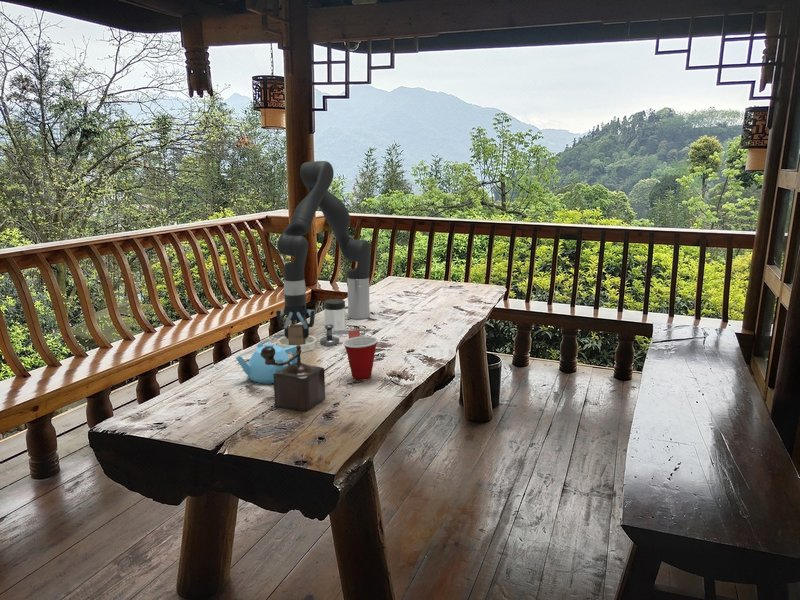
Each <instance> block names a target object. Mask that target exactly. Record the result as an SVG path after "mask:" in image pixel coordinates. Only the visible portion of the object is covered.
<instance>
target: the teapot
mask: <svg viewBox="0 0 800 600" xmlns="http://www.w3.org/2000/svg"><path fill="white" fill-rule="evenodd" d="M267 346H270V347H273V348H274V349H275V355H274V359H275V360H276V361H275V363H282V362H285V361H287V360H289V359H290V358H291V357H290V356H289V355H288V354H289V353H288V352H291V351H292V353H291V354H292V357H293V356H294V355H295V354H296V350H297V349H296V346H295V345H293V346H290V347H287V348H284V349H283V348H282V347H279V346H277V345H274V343H273V342H268V343H265V344H263V343H262V342H260V343H259V342H258V343H257V348H255V351H254V352H253V353H252V355H251V357H250V359H249V360H248V363H247V362H246V360H245V359H244V358H243V356H242V355H239V356H236V357H235V359H236V361H237V362H238V364H239V365H240V367H241V369H242V370H243V372H244V373H245V375H247V377H248V378H249V379H250V380H252V382H253V383H256V382H258V383H257V384H261V383H263V385H268V384H269V385H271V384H272V383H273V384H274V377H273V374H274V373H276V372H278V371H280V370H282V368H283V367H285V366H287V365H288V364H286V365H283V366H275V365H266V364H265V359H264V358H263V357H261V355H260V354H261V350H262V349H263V348H264V347H267ZM300 359H301V360H302V358H301V357H300ZM296 362H297V358H295V359H294V360H293V361H291V362H290V364H293V363H296ZM273 384H272V385H273Z"/></svg>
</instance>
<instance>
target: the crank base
mask: <svg viewBox="0 0 800 600" xmlns="http://www.w3.org/2000/svg"><path fill="white" fill-rule="evenodd" d="M325 328H326V329H327V333H326V337H321V338H320V339H319V344H321V346H322V345H324V346H323V347H334V346H333V345H335V346H338V345H339V344H340V338H339V337H336V336H333V333H332V328H334V325H331V324H328V325H325V324H324V329H325ZM337 344H338V345H337Z"/></svg>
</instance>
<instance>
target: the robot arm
mask: <svg viewBox="0 0 800 600" xmlns="http://www.w3.org/2000/svg"><path fill="white" fill-rule="evenodd" d="M334 173H335V172H334V167H333V166H332V164H331V163H330V162H329V161H327V160H317V161H315V160H314V161H307V162H304V163H302V164H301V166H300V169H299V175H300V178H301V181H302V182H303V183H302V184H303V185H304V186H305V188H306V189H307V191H308V192H309V193H308V194H307V195H306V196H305V197H304V198H303V199H302V200H301V201H300V202H299V203H298V205H296V207H295V209H294V212H293V215H292V217H291V220H290V222H289V224H288V225H287V226H286V228H285V229H284V231H283V232H282V233H281V235H280V236H279V238H278V241H277V244H276V245H277V251H278V253H279V254H280V255H281V256H285V257H287V256H289V257H291V256H292V257H294V259H293V261H290V262H287V263H285V264H284V265H283V278H284V279H283V280H284V282H283V293H284V294H283V296H284V297H283V299H284V309H280V308H278V309H277V310H276V311H275V314H276V318H277V324H278V327H279V328H283V329H284V337H286V338H287V339H289V338H288V328H289V326H290V325H291V324H290V323H291V322H292V321H297V322H298V321H299V322H300V323H301V324H303V326H304V339H307V337H308V336H310V328H313V327H314V325H315V318H316V309H308V307H307V292H306V291H307V290H306V282H305V281H306V280H305V264H306V260H307V255H308V251H309V242H308V240H307V238H306V237H305V236H304V235H306V234H308V233H309V232H310V229H311V226H312V223H313V220H314V217H315V215H316V212H317V210H318V208H319V209H320V211H321V213H322V214H323V217H324V218H325V221H326V222H327V224H328V226H329V228H330V230H331V231H332V233H333V235H334V237H335V239H336V241H337V244H338V246H339V249H340V252H341V254H342V256H343V258H344V259H345V260H346V261H347V262H348V261H349V262H355V263H356V262H357V265H356V267H354V268H352V269H348V271H347V272H346V276H347V277H346V280H347V281H346V282H347V315H348V316H347V317H348V318H349V319H352V320H364V319H368V318H370V314H371V313H370V271H371V270H370V269H371V254H372V253H371V244H370V242H369V241H368V240H366V239H355V238H354V239H353V238H352V237H351V236H350V234H349V227H350V224H351V216H350V212H349V211H348V209H347V207H346V205H345V203H344V202H343V201H342V199H340V198H339V197H337V196H336V195H335V194H333V193H332V192H330V191H329V188H330V187H331V185H332V182H333V179H334ZM307 313H308V316H309V317H310V318H309V322H308V321H307V317H306V315H307ZM284 314H285V315H286V317H287V318H286V320H285V322H284V319H283V315H284Z"/></svg>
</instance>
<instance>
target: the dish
mask: <svg viewBox="0 0 800 600" xmlns="http://www.w3.org/2000/svg"><path fill="white" fill-rule="evenodd" d="M276 346H279V347H282V348H283V349H284V348H287V347H290V346H293V345H289V339H287V338H286V337H285V336H282V337H280V338H278V339H277V340H276ZM295 346H297V345H295ZM300 346H301V349H300V350H301V352H304V351H309V350H312V349H314V350H316V349H317V348H316V347H318V338H317V337H315V336H313V335H309V336H308V337H307V339H306V343H305V344H304V345H300ZM315 348H316V349H315ZM312 351H313V350H312ZM309 352H310V351H309ZM304 353H305V352H304ZM287 354H292V351H291V352H288V353H287Z"/></svg>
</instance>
